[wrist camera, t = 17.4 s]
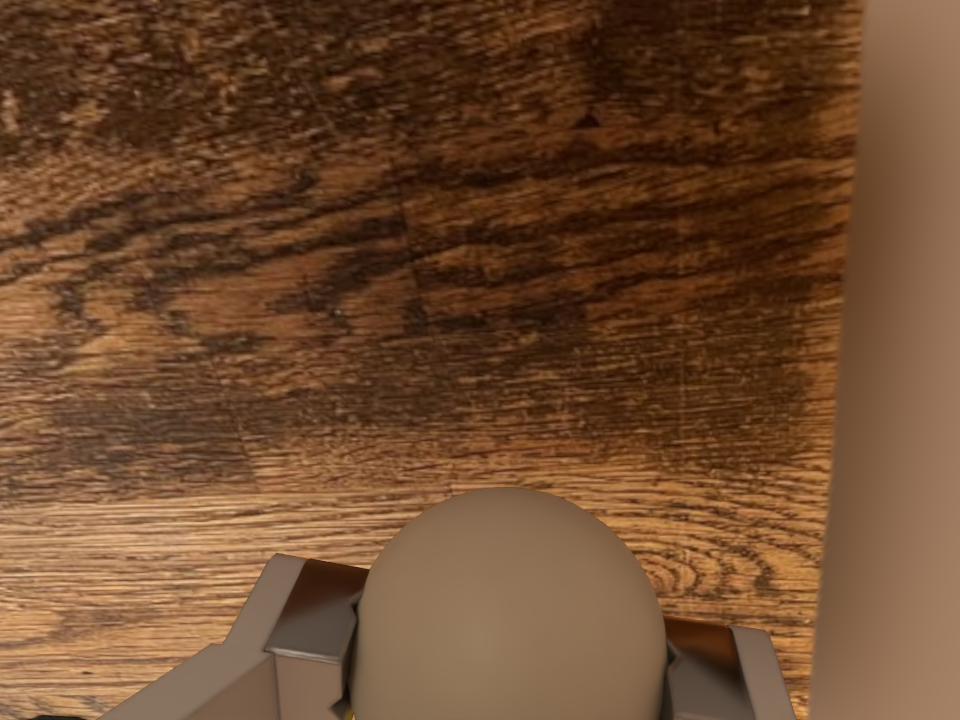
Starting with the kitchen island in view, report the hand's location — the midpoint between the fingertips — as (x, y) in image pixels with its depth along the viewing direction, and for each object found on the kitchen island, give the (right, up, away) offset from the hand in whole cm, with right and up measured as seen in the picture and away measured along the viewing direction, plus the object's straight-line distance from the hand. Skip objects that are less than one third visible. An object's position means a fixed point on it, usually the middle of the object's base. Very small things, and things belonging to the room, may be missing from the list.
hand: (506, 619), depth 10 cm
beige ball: (0, 0, 0) cm, 0 cm away
